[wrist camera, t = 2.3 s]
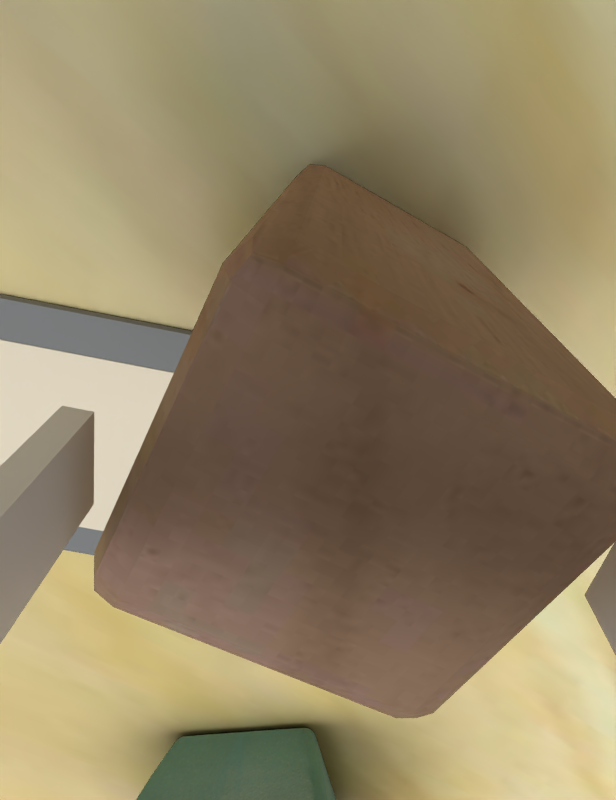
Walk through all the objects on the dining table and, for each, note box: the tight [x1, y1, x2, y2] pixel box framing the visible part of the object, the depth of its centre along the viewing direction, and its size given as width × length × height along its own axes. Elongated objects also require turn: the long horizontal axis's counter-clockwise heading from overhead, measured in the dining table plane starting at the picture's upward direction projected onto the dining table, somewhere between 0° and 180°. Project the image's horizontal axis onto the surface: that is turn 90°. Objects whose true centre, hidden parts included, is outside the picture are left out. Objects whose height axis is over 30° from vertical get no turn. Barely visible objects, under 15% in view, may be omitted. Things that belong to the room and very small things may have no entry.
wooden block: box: [94, 164, 616, 718], centre depth 20 cm, size 10×10×20 cm
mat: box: [0, 294, 192, 555], centre depth 34 cm, size 18×18×1 cm
